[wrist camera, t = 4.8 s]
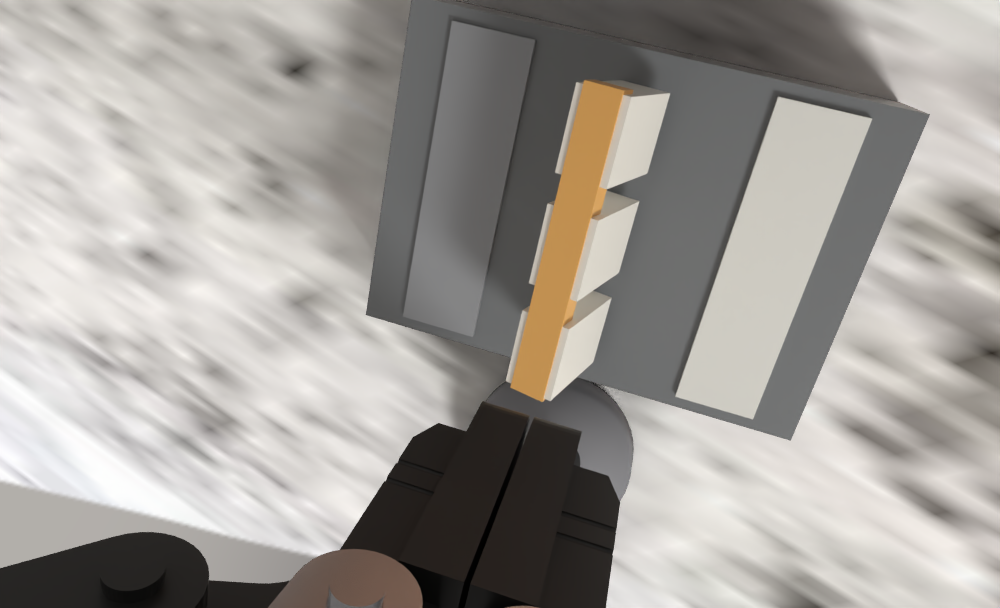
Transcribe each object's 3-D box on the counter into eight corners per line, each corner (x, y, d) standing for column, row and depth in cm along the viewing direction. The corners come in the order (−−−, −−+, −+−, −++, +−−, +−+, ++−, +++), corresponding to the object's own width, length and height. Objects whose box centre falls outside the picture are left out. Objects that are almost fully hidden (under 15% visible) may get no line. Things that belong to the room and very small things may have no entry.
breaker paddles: (671, 89, 20) (631, 92, 17) (592, 364, 23) (548, 405, 20) (622, 76, 20) (576, 77, 18) (552, 348, 24) (503, 384, 21)
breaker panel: (899, 102, 22) (931, 115, 19) (780, 395, 26) (791, 442, 23) (444, -3, 24) (410, -5, 21) (398, 285, 28) (364, 316, 25)
